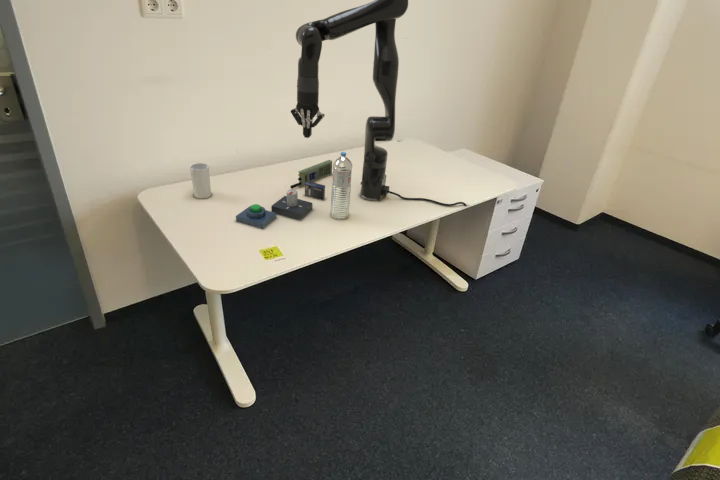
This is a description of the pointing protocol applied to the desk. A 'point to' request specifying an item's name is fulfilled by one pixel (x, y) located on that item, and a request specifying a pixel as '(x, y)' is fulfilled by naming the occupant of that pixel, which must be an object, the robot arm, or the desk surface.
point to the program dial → (292, 198)
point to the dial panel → (292, 208)
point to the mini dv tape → (314, 190)
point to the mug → (200, 180)
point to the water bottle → (341, 187)
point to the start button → (255, 208)
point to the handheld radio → (314, 173)
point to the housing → (256, 217)
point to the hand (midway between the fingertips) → (307, 137)
